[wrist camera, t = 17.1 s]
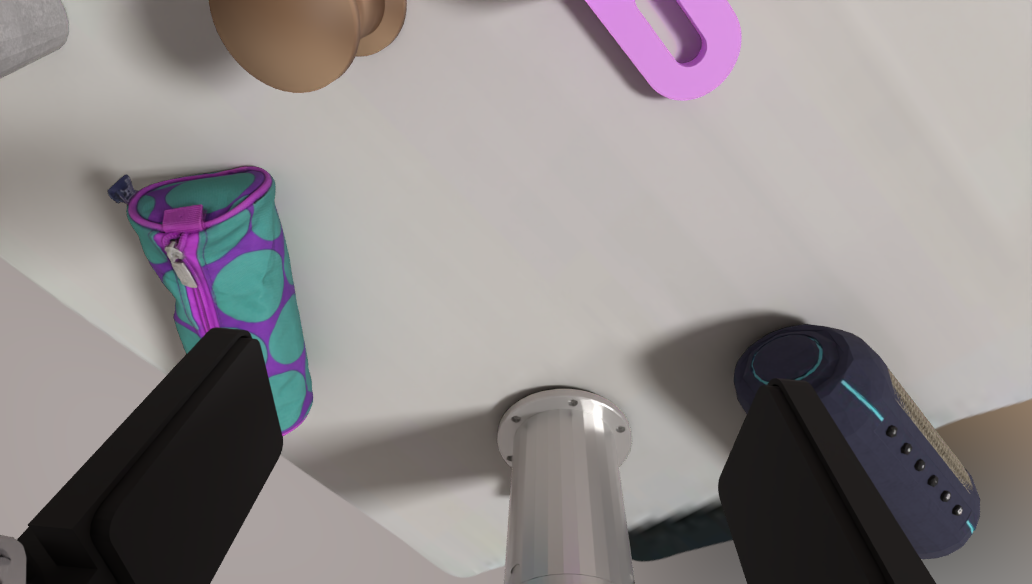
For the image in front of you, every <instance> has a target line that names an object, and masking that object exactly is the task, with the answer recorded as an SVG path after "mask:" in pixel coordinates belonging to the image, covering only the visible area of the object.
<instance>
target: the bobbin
mask: <svg viewBox="0 0 1032 584" xmlns="http://www.w3.org/2000/svg"><path fill="white" fill-rule="evenodd" d="M209 5H210V11H211V15H212V19H213V22H214V25H215V27H216V30H217V32H218V34H219V36H220V38H221V40H222V42H223V43H224V45H225V47H226V48H227V50H228V51H229V53H230V54H231V55H232V56H233V58H234V59H235V60H236V61H237V62H238V63H239V64H240V65H241V66H242V67H243V68H244V69H245V70H246V71H247V72H248V73H249V74H251V75H252V76H254V77H255V78H256V79H258V80H259V81H261V82H263V83H265V84H266V85H269V86H271V87H273V88H276V89H279V90H282V91H287V92H293V93H304V92H311V91H315V90H318V89H321V88H323V87H325V86H327V85H328V84H330V83H331V82H333V81H334V80H336V79H338V78H339V77H340V76H341V75H342V74H344V73H345V72H346V70H347V69H348V68H349V67H350V65H351V63H352V62H353V60H354V58H355V56H368V55H372V54H374V53H377V52H379V51H381V50H382V49H384V48H385V47H387V46H388V45H389V44H391V43H392V42H393V41H394V40H395V38H396V37H397V36H398V34H399V32H400V31H401V29H402V26H403V24H404V20H405V16H406V6H407V1H406V0H209Z"/></svg>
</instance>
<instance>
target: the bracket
mask: <svg viewBox="0 0 1032 584" xmlns="http://www.w3.org/2000/svg"><path fill="white" fill-rule="evenodd" d="M585 1H586V2H587V4H588V5H589V6H590V8H591V9H592V10H593V11H594V13H595V14H596V15H597V17H598V18H599V19H600V21H601V22H602V23H603V24H604V26H605V27H606V28H607V30H608V31H609V32H610V34H611V35H612V36H613V37H614V39H615V40H616V41H617V43H618V44H619V45H620V47H621V48H622V49H623V50H624V52H625V53H626V54H627V56H628V57H629V58H630V60H631V61H632V62H633V63H634V65H635V66H636V67H637V69H638V70H639V71H640V73H641V74H642V75H643V76H644V78H645V79H646V80H647V82H648V83H649V84H650V86H651V87H652V88H653V89H654V90H655V91H656V92H658V93H659V94H661V95H663V96H665V97H667V98H670V99H674V100H691V99H695V98H698V97H701V96H704V95H706V94H707V93H709V92H711V91H712V90H714V89H715V88H716V87H718V86H719V85H720V84H721V83H722V82H723V81H724V80H725V79H726V78H727V76H728V75H729V74H730V72H731V71H732V69H733V67H734V65H735V63H736V61H737V58H738V56H739V52H740V47H741V28H740V24H739V21H738V18H737V16H736V14H735V12H734V11H733V9H732V8H731V6H730V5H729V3H728V1H727V0H676V1H677V3H678V4H679V6H680V7H681V9H682V10H683V11H684V13H685V14H686V16H687V17H688V19H689V20H690V22H691V23H692V25H693V26H694V27H695V29H696V30H697V32H698V33H699V35H700V37H701V40H702V46H701V50H700V52H699V54H698V55H697V56H696V57H695V58H694V59H693V60H692V61H690V62H687V63H679V62H676V60H675V59H674V58H673V56H672V55H671V53H670V52H669V51H668V49H667V48H666V47H665V45H664V44H663V42H662V41H661V40H660V38H659V37H658V36H657V34H656V33H655V31H654V30H653V29H652V27H651V26H650V25H649V23H648V22H647V20H646V19H645V18H644V16H643V15H642V14H641V12H640V11H639V9H638V8H637V6H636V4H635V0H585Z"/></svg>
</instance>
